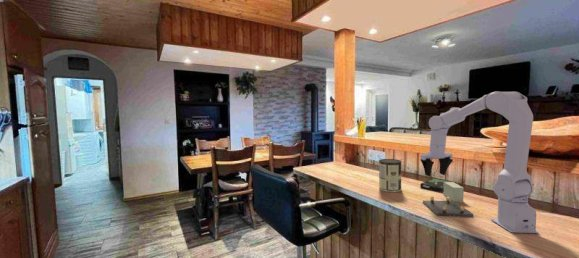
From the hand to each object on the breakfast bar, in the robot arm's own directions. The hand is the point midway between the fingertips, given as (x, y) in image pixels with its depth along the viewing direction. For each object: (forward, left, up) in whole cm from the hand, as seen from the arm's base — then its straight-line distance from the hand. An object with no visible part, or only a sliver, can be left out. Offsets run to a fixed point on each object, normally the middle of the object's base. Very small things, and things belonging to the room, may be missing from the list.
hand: (435, 174), depth 110 cm
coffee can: (+12, +16, -10) cm, 22 cm away
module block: (0, -7, -10) cm, 13 cm away
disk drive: (+16, -8, -11) cm, 21 cm away
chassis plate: (-13, +2, -10) cm, 17 cm away
